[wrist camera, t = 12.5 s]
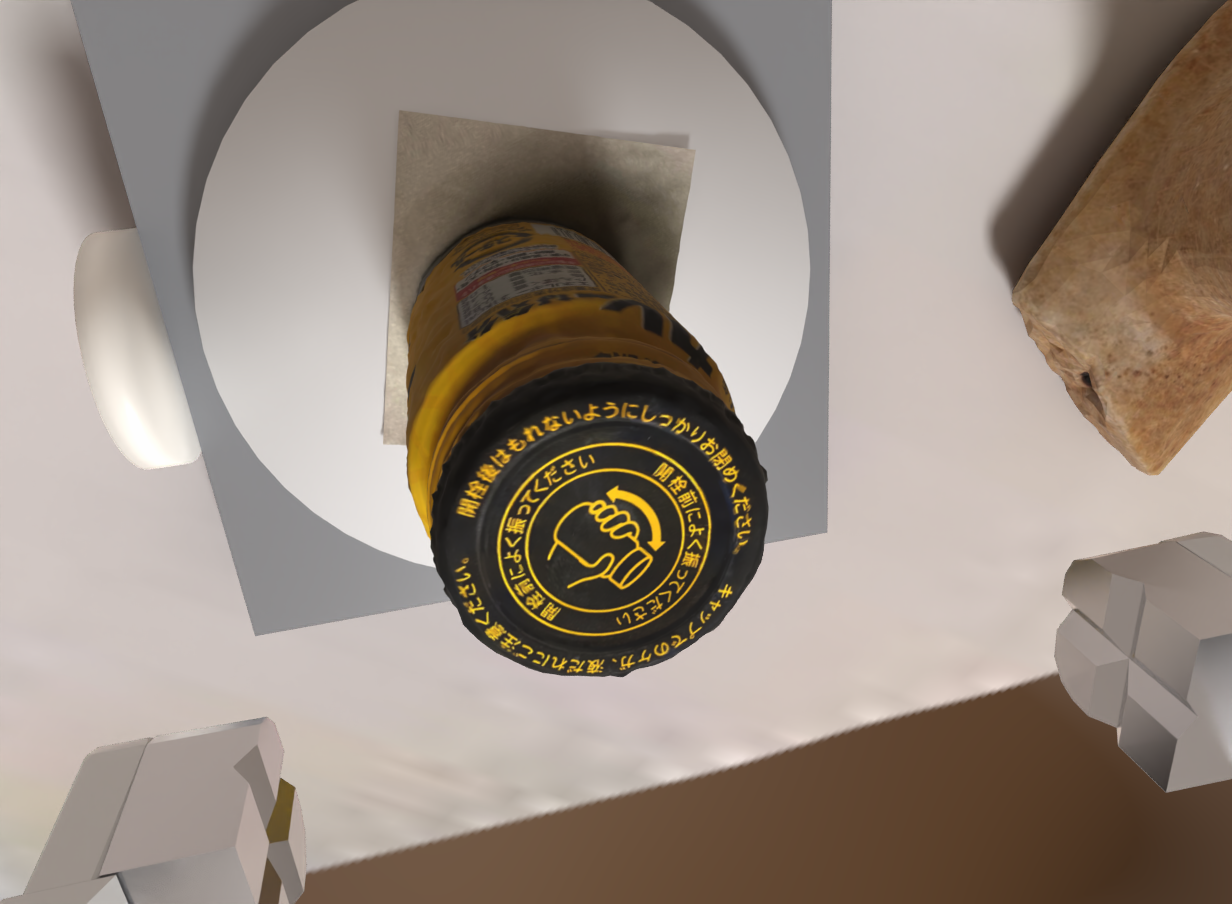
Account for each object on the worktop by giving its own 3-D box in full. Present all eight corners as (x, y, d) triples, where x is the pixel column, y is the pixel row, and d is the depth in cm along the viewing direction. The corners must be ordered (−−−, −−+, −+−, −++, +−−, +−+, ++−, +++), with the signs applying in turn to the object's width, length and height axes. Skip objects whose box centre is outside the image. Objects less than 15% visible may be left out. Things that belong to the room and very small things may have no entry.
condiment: (383, 441, 25) (363, 734, 14) (398, 109, 22) (388, 158, 11) (644, 455, 27) (803, 724, 16) (692, 148, 24) (931, 224, 13)
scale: (45, -33, 23) (-73, -64, 17) (787, -89, 26) (893, -129, 20) (230, 591, 30) (189, 712, 24) (792, 493, 33) (871, 582, 27)
